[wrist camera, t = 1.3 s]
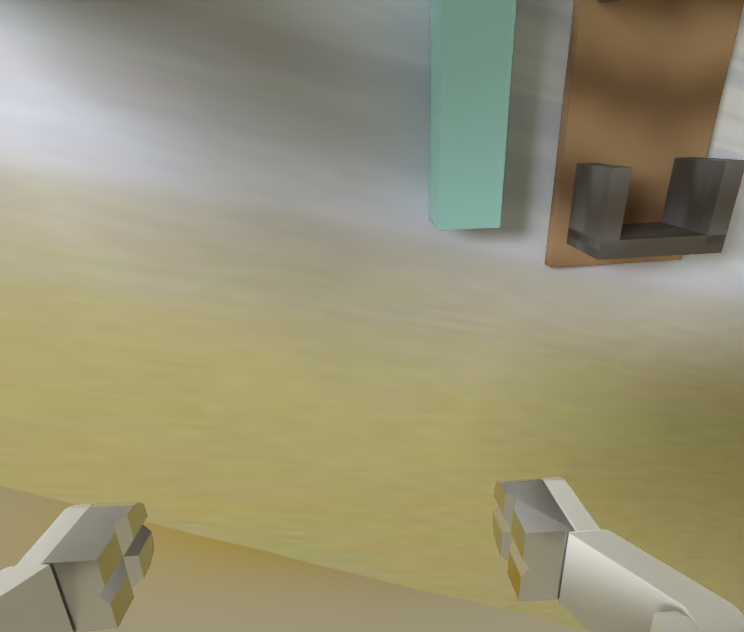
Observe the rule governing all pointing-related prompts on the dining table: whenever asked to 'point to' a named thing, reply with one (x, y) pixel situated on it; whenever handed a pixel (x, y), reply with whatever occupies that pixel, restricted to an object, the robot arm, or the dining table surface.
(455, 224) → the slat
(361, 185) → the dining table surface
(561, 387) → the dining table surface
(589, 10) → the sharpening stone holder
